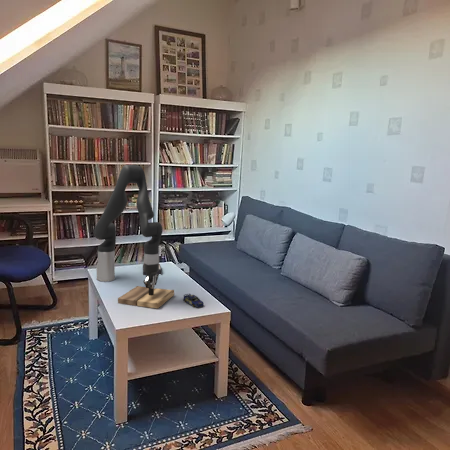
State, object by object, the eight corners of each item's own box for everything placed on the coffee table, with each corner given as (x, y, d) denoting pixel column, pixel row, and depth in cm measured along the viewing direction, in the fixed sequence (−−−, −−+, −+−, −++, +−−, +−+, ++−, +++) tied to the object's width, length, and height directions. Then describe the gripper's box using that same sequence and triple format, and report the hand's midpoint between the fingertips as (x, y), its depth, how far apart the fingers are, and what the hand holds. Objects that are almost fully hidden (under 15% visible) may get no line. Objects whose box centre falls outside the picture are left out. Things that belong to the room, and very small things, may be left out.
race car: (209, 307, 197) (209, 299, 196) (198, 311, 192) (199, 302, 191) (189, 299, 207) (189, 290, 206) (179, 302, 202) (179, 293, 202)
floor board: (117, 303, 196) (117, 297, 196) (137, 290, 215) (137, 285, 215) (136, 306, 194) (136, 300, 193) (154, 292, 213) (154, 287, 212)
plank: (137, 305, 194) (137, 300, 193) (155, 292, 213) (155, 288, 212) (158, 308, 191) (158, 303, 190) (174, 294, 210) (174, 289, 209)
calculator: (160, 262, 259) (161, 268, 244) (159, 269, 259) (161, 275, 245) (142, 263, 256) (143, 268, 242) (142, 269, 257) (143, 275, 242)
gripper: (150, 257, 206) (150, 289, 209) (138, 264, 194) (138, 298, 197) (163, 259, 204) (163, 291, 207) (152, 266, 192) (152, 300, 195)
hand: (151, 294), depth 202 cm, fingers closed
